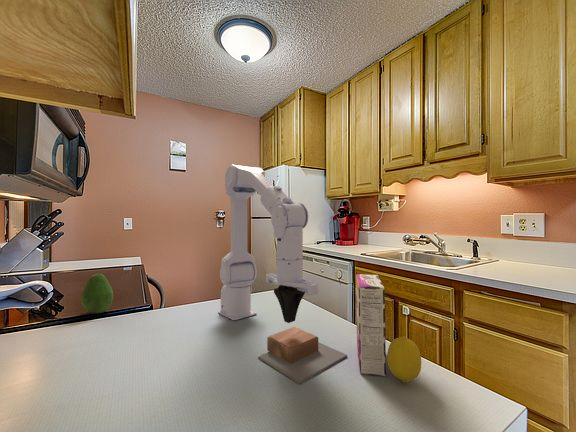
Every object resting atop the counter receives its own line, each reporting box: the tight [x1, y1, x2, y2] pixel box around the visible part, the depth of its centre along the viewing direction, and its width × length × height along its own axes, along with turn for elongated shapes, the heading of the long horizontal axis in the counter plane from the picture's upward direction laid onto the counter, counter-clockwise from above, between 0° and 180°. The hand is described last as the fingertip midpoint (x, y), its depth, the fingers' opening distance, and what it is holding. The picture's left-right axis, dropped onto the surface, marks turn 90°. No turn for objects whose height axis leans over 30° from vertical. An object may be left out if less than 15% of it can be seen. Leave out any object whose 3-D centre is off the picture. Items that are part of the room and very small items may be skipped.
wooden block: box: [266, 326, 319, 364], centre depth 59 cm, size 3×8×8 cm
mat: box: [257, 341, 348, 385], centre depth 57 cm, size 12×14×1 cm
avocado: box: [80, 273, 114, 314], centre depth 84 cm, size 8×8×12 cm
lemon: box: [386, 335, 422, 383], centre depth 48 cm, size 6×6×8 cm
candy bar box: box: [355, 273, 387, 377], centre depth 56 cm, size 11×5×16 cm, turn 168°
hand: (289, 321), depth 60 cm, fingers closed
